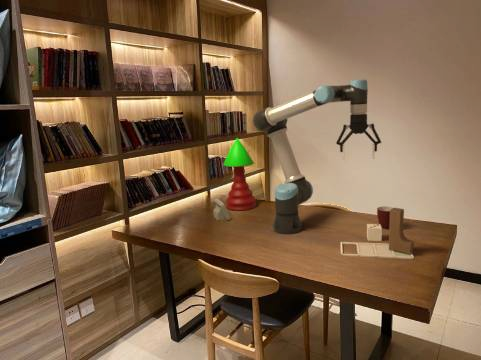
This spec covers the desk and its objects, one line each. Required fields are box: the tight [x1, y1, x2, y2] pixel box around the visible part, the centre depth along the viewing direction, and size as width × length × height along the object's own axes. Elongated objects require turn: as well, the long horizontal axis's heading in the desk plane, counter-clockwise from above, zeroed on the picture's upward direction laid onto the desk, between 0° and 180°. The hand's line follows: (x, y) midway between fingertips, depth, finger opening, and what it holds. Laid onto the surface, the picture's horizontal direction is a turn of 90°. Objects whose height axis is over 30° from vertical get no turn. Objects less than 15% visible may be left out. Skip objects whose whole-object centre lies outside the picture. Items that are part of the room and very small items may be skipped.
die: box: [366, 223, 383, 242], centre depth 171 cm, size 6×6×6 cm
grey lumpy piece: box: [212, 197, 231, 221], centre depth 215 cm, size 16×9×11 cm, turn 9°
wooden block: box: [388, 207, 415, 254], centre depth 153 cm, size 9×4×18 cm, turn 49°
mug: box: [376, 205, 393, 230], centre depth 183 cm, size 10×8×10 cm
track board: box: [340, 241, 415, 260], centre depth 158 cm, size 29×14×1 cm, turn 76°
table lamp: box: [222, 137, 257, 212], centre depth 232 cm, size 20×20×45 cm
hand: (358, 158), depth 174 cm, fingers open, 13 cm apart
